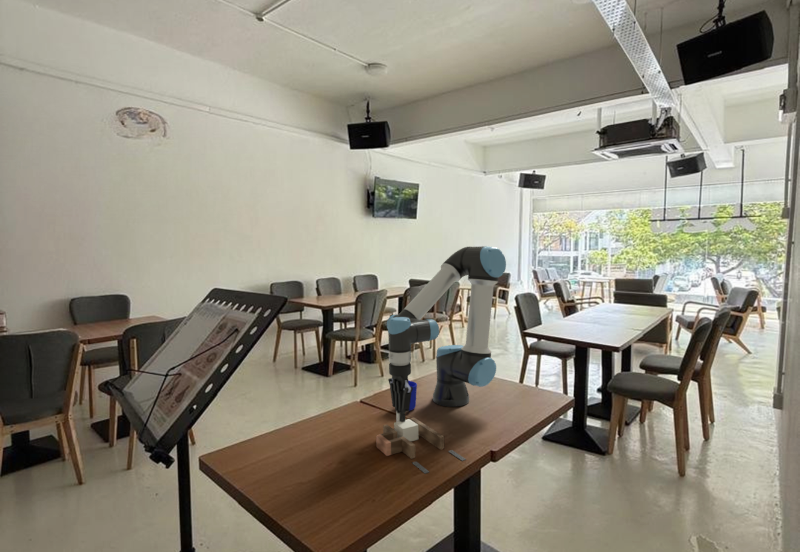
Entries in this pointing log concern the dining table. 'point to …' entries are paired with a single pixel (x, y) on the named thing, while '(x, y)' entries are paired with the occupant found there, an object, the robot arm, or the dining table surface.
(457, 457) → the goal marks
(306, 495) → the dining table surface
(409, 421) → the block
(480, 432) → the dining table surface
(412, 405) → the mug
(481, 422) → the dining table surface
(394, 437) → the wooden bar frame
